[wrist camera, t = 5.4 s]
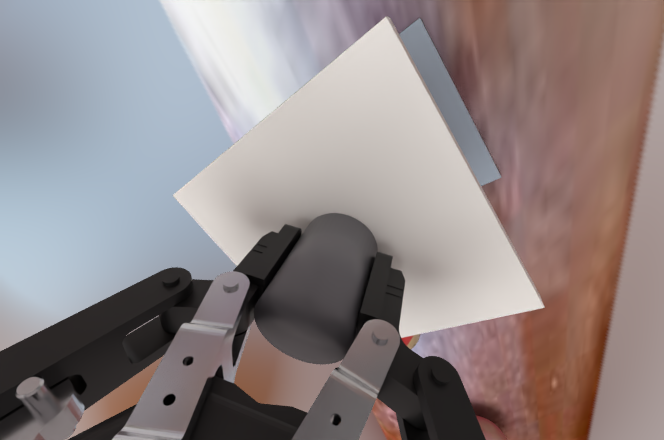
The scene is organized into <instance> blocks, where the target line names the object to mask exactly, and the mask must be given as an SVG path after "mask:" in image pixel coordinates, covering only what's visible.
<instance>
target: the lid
mask: <svg viewBox="0 0 664 440" xmlns="http://www.w3.org/2000/svg"><path fill="white" fill-rule="evenodd" d="M173 196H174V197H175V199H176V200H177V201H178V202H179V203H180V204H181V205H182V206H183V207H184V209H185V210H186V211H187V212H188V213H189V214H190V215H191V216H192V217H193V218H194V220H195V221H196V222H197V223H198V224H199V225H200V226H201V227H202V228H203V229H204V231H205V232H206V233H207V234H208V235H209V236H210V237H211V238H212V239H213V240H214V242H215V243H216V244H217V245H218V246H219V247H220V248H221V249H222V250H223V252H224V253H225V254H226V255H227V256H228V257H229V258H230V259H231V260H232V261H233V263H234V264H235V265H236V266H238V265H239V263H240V262H241V261H242V260H243V259H244V257H245V256H246V255H247V254H248V253H249V252H250V250H252V248H253V247H254V246H255V245H256V243H257V242H258V241H259V240H260V239H261V237H262V236H264V235H266V234H268V233H269V232H271V231H273V232H276V233H279V231H280V230H281V229H282V227H283V226H284V225H285V224H288V225H291V226H294V227H298V228H301V230H302V232H301V237H300V238H299V240H298V241H297V243H296V244H295V246H294V247H293V249H292V250H291V252H290V253H289V255H288V256H287V258H286V259H285V261H284V262H283V264H282V265H281V267H280V268H279V270H278V271H277V273H276V275H275V276H274V278H273V279H272V281H271V282H270V284H269V285H268V287H267V288H266V290H265V291H264V293H263V294H262V296H261V297H260V299H259V300H258V302H257V303H256V305H255V309H254V318H255V322H256V324H257V327H258V329H259V330H260V332H261V333H262V335H263V336H264V337H265V338H266V339H267V340H268V341H269V342H270V343H271V344H272V345H273V346H274V347H276V348H277V349H279V350H280V351H281V352H283V353H285V354H287V355H289V356H291V357H293V358H295V359H298V360H301V361H304V362H308V363H313V364H330V363H331V364H332V363H336V362H338V361H341V360H342V359H344V357H345V355H346V354H347V352H348V350H349V349H350V347H351V345H352V344H353V342H354V338H355V334H356V325H357V321H358V317H359V314H360V310H361V307H362V303H363V300H364V296H365V292H366V289H367V285H368V282H369V278H370V274H371V271H372V267H373V264H374V260H375V257H376V253H377V252H381V253H384V254H387V255H391V256H393V259H392V264H391V268H393V269H397V270H400V271H402V273H403V276H404V278H405V287H404V294H403V302H402V309H401V317H400V324H399V333H400V336H401V338H403V337H408V336H413V335H417V334H422V333H427V332H432V331H436V330H441V329H446V328H451V327H455V326H460V325H465V324H470V323H474V322H479V321H484V320H488V319H493V318H498V317H503V316H507V315H512V314H517V313H522V312H526V311H531V310H536V309H541V308H544V305H543V302H542V300H541V297H540V294H539V292H538V291H537V289H536V287H535V285H534V283H533V281H532V280H531V278H530V276H529V274H528V272H527V270H526V268H525V267H524V265H523V263H522V261H521V259H520V257H519V255H518V254H517V252H516V250H515V248H514V246H513V244H512V243H511V241H510V239H509V237H508V235H507V233H506V231H505V230H504V228H503V226H502V224H501V222H500V220H499V219H498V217H497V215H496V213H495V211H494V209H493V207H492V206H491V204H490V202H489V200H488V198H487V196H486V194H485V193H484V191H483V189H482V187H481V185H480V183H479V182H478V180H477V178H476V176H475V174H474V172H473V170H472V169H471V167H470V165H469V163H468V161H467V159H466V157H465V156H464V154H463V152H462V150H461V148H460V146H459V145H458V143H457V141H456V139H455V137H454V135H453V133H452V132H451V130H450V128H449V126H448V124H447V122H446V120H445V119H444V117H443V115H442V113H441V111H440V109H439V108H438V106H437V104H436V102H435V100H434V98H433V96H432V95H431V93H430V91H429V89H428V87H427V85H426V84H425V82H424V80H423V78H422V76H421V74H420V72H419V71H418V69H417V67H416V65H415V63H414V61H413V59H412V58H411V56H410V54H409V52H408V50H407V48H406V47H405V45H404V43H403V41H402V39H401V37H400V35H399V34H398V32H397V30H396V28H395V26H394V24H393V22H392V21H391V19H390V17H385V18H384V19H383V20H381V21H380V22H379V23H378V24H377V25H375V26H374V27H373V28H372V29H371V30H370V31H368V32H367V33H366V34H365V35H364V36H362V37H361V38H360V39H359V40H358V41H356V42H355V43H354V44H353V45H352V46H350V47H349V48H348V49H347V50H346V51H344V52H343V53H342V54H341V55H340V56H338V57H337V58H336V59H335V60H334V61H333V62H331V63H330V64H329V65H328V66H327V67H325V68H324V69H323V70H322V71H321V72H319V73H318V74H317V75H316V76H315V77H313V78H312V79H311V80H310V81H309V82H307V83H306V84H305V85H304V86H303V87H302V88H300V89H299V90H298V91H297V92H296V93H294V94H293V95H292V96H291V97H290V98H288V99H287V100H286V101H285V102H284V103H282V104H281V105H280V106H279V107H278V108H276V109H275V110H274V111H273V112H272V113H270V114H269V115H268V116H267V117H266V118H265V119H263V120H262V121H261V122H260V123H259V124H257V125H256V126H255V127H254V128H253V129H251V130H250V131H249V132H248V133H247V134H245V135H244V136H243V137H242V138H241V139H239V140H238V141H237V142H236V143H235V144H233V145H232V146H231V147H230V148H229V149H228V150H226V151H225V152H224V153H223V154H222V155H221V156H219V157H218V158H217V159H216V160H215V161H213V162H212V163H211V164H210V165H208V167H206V168H205V169H204V170H203V171H201V172H200V173H199V174H198V175H197V176H195V177H194V178H193V179H192V180H191V181H189V182H188V183H187V184H186V185H185V186H184V187H182V188H181V189H180V190H179V191H178V192H176V193H175V194H174V195H173Z"/></svg>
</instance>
